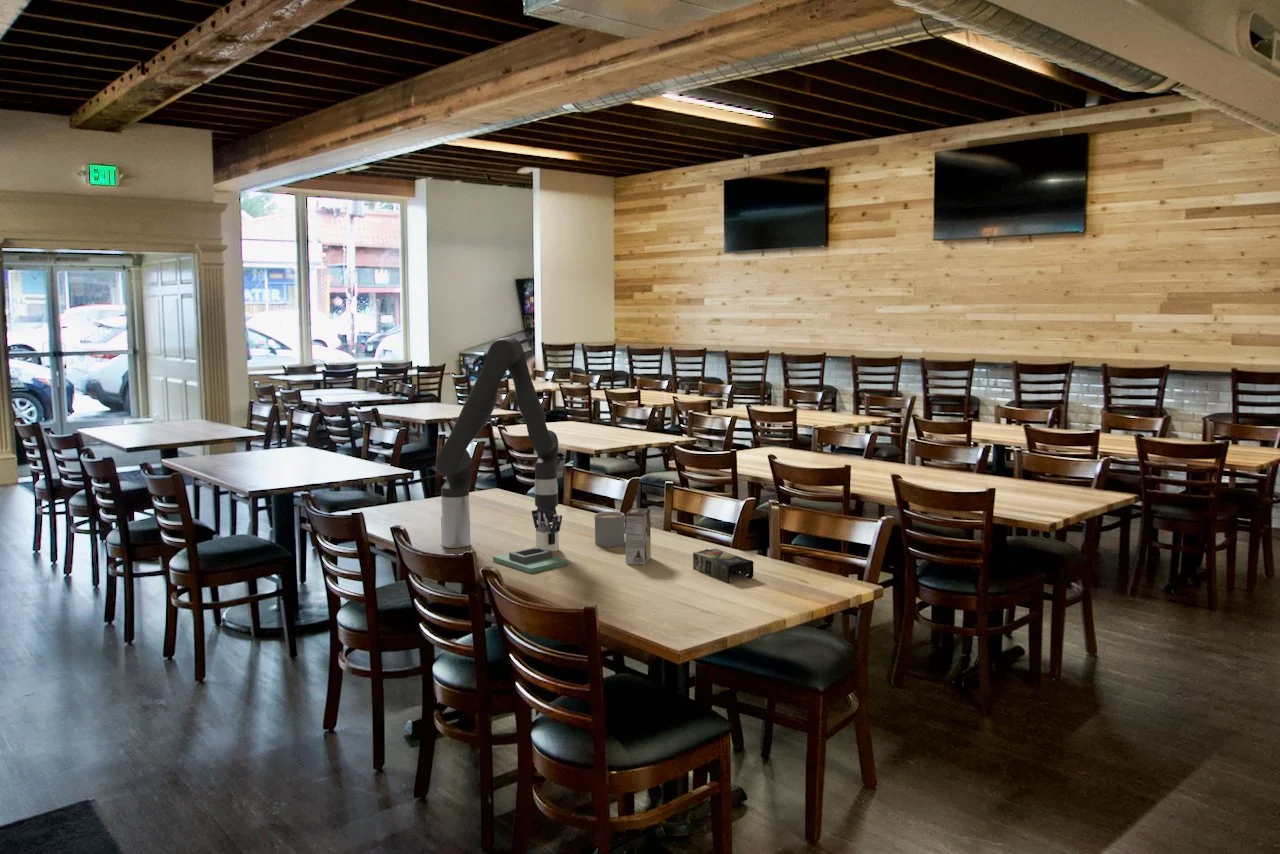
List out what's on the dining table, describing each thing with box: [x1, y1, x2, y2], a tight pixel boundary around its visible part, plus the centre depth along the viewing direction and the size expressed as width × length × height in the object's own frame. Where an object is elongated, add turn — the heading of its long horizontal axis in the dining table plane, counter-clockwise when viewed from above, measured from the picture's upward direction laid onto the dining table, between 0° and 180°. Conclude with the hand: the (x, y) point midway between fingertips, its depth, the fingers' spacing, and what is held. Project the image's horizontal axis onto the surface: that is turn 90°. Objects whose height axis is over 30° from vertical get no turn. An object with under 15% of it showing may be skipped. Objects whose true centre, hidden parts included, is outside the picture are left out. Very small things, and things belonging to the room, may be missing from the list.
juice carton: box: [692, 548, 755, 584], centre depth 292 cm, size 20×10×6 cm, turn 31°
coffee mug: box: [594, 511, 626, 548], centre depth 330 cm, size 13×10×10 cm
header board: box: [492, 546, 568, 574], centre depth 305 cm, size 20×14×4 cm
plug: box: [535, 526, 560, 552], centre depth 320 cm, size 4×7×8 cm, turn 133°
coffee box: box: [624, 507, 652, 566], centre depth 306 cm, size 9×6×16 cm
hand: (547, 542), depth 320 cm, fingers closed on plug, 4 cm apart
